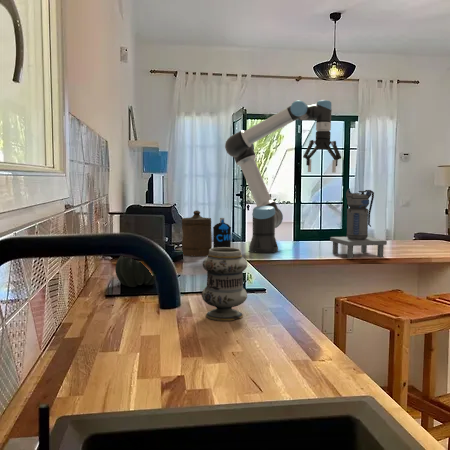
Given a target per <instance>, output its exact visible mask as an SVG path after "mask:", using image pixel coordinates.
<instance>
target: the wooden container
mask: <svg viewBox="0 0 450 450" xmlns="http://www.w3.org/2000/svg"><path fill="white" fill-rule="evenodd" d="M181 222H182V224H181V247H182V248H181V252H182V251H183V255H182V256H185V257H208V254H209V250H210V249H211V248H213V247H212V246H213V239H212V238H213V237H212V236H213V235H212V218H210V217H202V216H201V211H200V210H194V211H193V214H192V216H191V217H183V218H181Z"/></svg>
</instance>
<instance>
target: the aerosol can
mask: <svg viewBox="0 0 450 450" xmlns="http://www.w3.org/2000/svg"><path fill="white" fill-rule="evenodd" d="M212 230H213V231H212V232H213V235H212V236H213V237H212V238H213V239H212V246H213V247H212V248H218V247H231V246H232V245H231V243H232V241H231V239H232V238H231V236H232V235H231V234H232V232H231V230H232V226H230V225H229V224H228V223H226V222H225V217H220V218H219V222H218V223H216V224H214V226H212ZM231 248H232V247H231Z"/></svg>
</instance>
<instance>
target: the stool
mask: <svg viewBox="0 0 450 450" xmlns="http://www.w3.org/2000/svg"><path fill="white" fill-rule="evenodd" d="M329 238H330V239H329V241H330V242H332V254H339V244H340V245H343V246H347V251H346V254H347V255H346V257H347V259H353V258H354V246H356V247H359V246H361V249H360V251H361V253H367V252H368V249H367V248H368V246H377V251H376V252H377V255H376V256H377V257H378V258H384V249H385V248H384V246H387V244H388V243H387V242H388V240H384V239H381V238H376V237H375V238H374V237H371V236H368V237H367V238H366V239H363V240H355V239H349V238H347V236H330V237H329Z"/></svg>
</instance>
